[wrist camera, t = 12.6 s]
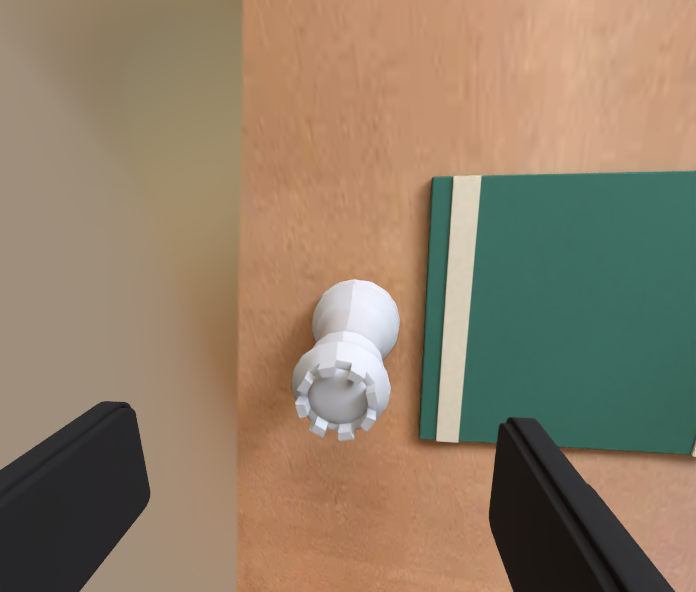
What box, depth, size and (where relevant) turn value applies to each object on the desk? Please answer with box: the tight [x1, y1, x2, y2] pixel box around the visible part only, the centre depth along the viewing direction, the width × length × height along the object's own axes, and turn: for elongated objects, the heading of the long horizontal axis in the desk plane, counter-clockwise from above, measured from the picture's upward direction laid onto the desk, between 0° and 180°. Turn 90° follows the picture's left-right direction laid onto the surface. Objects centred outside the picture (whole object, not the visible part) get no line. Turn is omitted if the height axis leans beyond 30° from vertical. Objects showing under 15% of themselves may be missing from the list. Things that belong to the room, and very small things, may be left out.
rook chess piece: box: [291, 279, 400, 441], centre depth 14 cm, size 4×4×8 cm
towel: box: [419, 171, 696, 457], centre depth 16 cm, size 16×14×1 cm
